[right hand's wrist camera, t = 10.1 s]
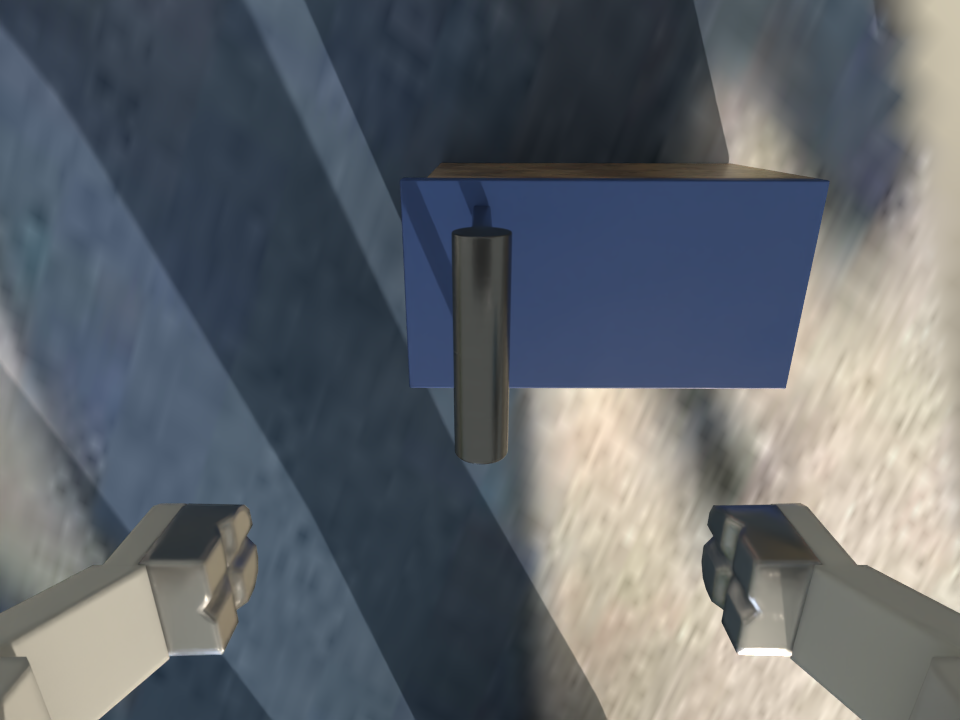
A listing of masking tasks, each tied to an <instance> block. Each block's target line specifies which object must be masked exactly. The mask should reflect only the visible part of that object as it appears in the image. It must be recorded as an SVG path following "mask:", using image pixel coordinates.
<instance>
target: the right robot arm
mask: <svg viewBox="0 0 960 720" xmlns="http://www.w3.org/2000/svg"><path fill="white" fill-rule="evenodd" d="M252 525H253V524H252V519H251V515H250V510H249V508H247V507H246V506H245V505H234V504H185V503H161V504H158V505H155V506H153V507H152V508H151V509H150V510H149V512H148V513H147V514H146V515H145V516H144V517H143V519H142V520H141V521H140V522H139V523H138V524H137V526H136V527H135V528H134V529H133V530H132V531H131V533H130V534H129V535H128V536H127V537H126V538H125V540H124V541H123V542H122V543H121V544H120V545H119V547H118V548H117V549H116V550H115V551H114V552H113V554H112V555H111V556H110V557H109V558H108V559H107V561H106V562H105V563H104V564H103V565H93V566H91V567H89V568H87V569H85V570H83V571H81V572H79V573H77V574H75V575H73V576H71V577H69V578H68V579H66V580H64V581H62V582H60V583H58V584H56V585H54V586H52V587H50V588H48V589H46V590H44V591H42V592H41V593H39V594H37V595H35V596H33V597H31V598H29V599H27V600H25V601H23V602H21V603H19V604H17V605H15V606H14V607H12V608H10V609H8V610H6V611H4V612H2V613H0V720H99V719H100V718H101V717H102V716H103V715H104V714H106V713H107V712H108V711H109V710H110V709H111V708H113V707H114V706H115V705H116V704H117V703H118V702H120V701H121V700H122V699H123V698H124V697H125V696H127V695H128V694H129V693H130V692H131V691H132V690H134V689H135V688H136V687H137V686H138V685H139V684H141V683H142V682H143V681H144V680H145V679H146V678H148V677H149V676H150V675H151V674H152V673H153V672H155V671H156V670H157V669H158V668H159V667H160V666H162V665H163V664H164V663H165V662H166V661H167V660H169V656H181V655H215V654H223V653H224V650H225V648H226V646H227V644H228V642H229V640H230V638H231V636H232V634H233V632H234V630H235V628H236V626H237V624H238V616H237V611H236V610H237V609H238V608H240V607H241V606H243V605H244V604H245V603H247V602H248V601H249V599H250V597H251V595H252V592H253V590H254V588H255V583H256V578H257V574H258V553H257V547H256V545H255V544H254V543H253V542H252V541H251V540H250V539H249V538H248V537H247V534H248V533H249V531H250V529H251V527H252ZM707 525H708V527H709V529H710V531H711V533H712V534H713V537H712V538H711V539H710V540H709V541H708V542H707V543H706V544H705V545H704V547H703V555H702V573H703V580H704V583H705V587H706V590H707V592H708V595H709V597H710V599H711V601H712V602H713V603H715V604H716V605H717V606H719V607H720V608H722V609H723V610H724V611H723V616H722V624H723V626H724V628H725V630H726V632H727V634H728V636H729V638H730V640H731V642H732V644H733V646H734V648H735V650H736V652H737V654H743V655H779V656H791V659H792V660H793V661H794V662H795V663H796V664H798V665H799V666H800V667H801V668H802V669H803V670H805V671H806V672H807V673H808V674H809V675H810V676H812V677H813V678H814V679H815V680H816V681H817V682H819V683H820V684H821V685H822V686H823V687H824V688H825V689H827V690H828V691H829V692H830V693H831V694H832V695H834V696H835V697H836V698H837V699H838V700H839V701H841V702H842V703H843V704H844V705H845V706H846V707H848V708H849V709H850V710H851V711H852V712H853V713H855V714H856V715H857V716H858V717H859V718H860V719H862V720H960V613H958V612H956V611H954V610H952V609H950V608H948V607H946V606H944V605H942V604H941V603H939V602H937V601H935V600H933V599H931V598H929V597H927V596H925V595H923V594H921V593H919V592H917V591H915V590H914V589H912V588H910V587H908V586H906V585H904V584H902V583H900V582H898V581H896V580H894V579H892V578H890V577H889V576H887V575H885V574H883V573H881V572H879V571H877V570H875V569H873V568H871V567H869V566H867V565H857V564H856V563H855V562H854V561H853V559H852V558H851V557H850V556H849V555H848V554H847V552H846V551H845V550H844V549H843V548H842V547H841V545H840V544H839V543H838V542H837V541H836V540H835V538H834V537H833V536H832V535H831V534H830V533H829V532H828V530H827V529H826V528H825V527H824V526H823V525H822V523H821V522H820V521H819V520H818V519H817V518H816V516H815V515H814V514H813V513H812V512H811V511H810V509H809V508H808V507H807V506H805V505H803V504H801V503H786V504H771V505H713V507H712V509H711V511H710V513H709V519H708V524H707Z"/></svg>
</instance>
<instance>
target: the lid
mask: <svg viewBox="0 0 960 720" xmlns="http://www.w3.org/2000/svg"><path fill="white" fill-rule="evenodd" d="M828 187H829V181H828V180H823V179H807V178H402V179H401V180H400V195H401V216H402V238H403V259H404V280H405V302H406V323H407V345H408V366H409V386H410V388H454V430H455V453H456V455H457V456H458V457H459V458H460V459H462V460H463V461H466V462H469V463H473V464H490V463H494V462H497V461H499V460H501V459H503V458H504V457H505V456H506V454H507V451H508V412H509V388H704V389H785V388H786V384H787V379H788V375H789V370H790V365H791V361H792V356H793V351H794V347H795V342H796V337H797V332H798V328H799V323H800V318H801V314H802V309H803V304H804V300H805V295H806V290H807V285H808V281H809V276H810V271H811V267H812V262H813V257H814V253H815V248H816V243H817V238H818V234H819V229H820V224H821V220H822V215H823V210H824V206H825V201H826V196H827V191H828Z"/></svg>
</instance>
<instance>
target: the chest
mask: <svg viewBox="0 0 960 720" xmlns="http://www.w3.org/2000/svg"><path fill="white" fill-rule="evenodd" d="M427 178H807V179H815V178H811V177H805V176H799V175H794V174H788V173H782V172H776V171H771V170H765V169H759V168H753V167H748V166H742V165H736V164H691V163H441V164H440V165H439V166H438V167H437V168H436V169H435V170H434V171H433V172H432V173H431V174H430V175H429V176H428V177H427Z"/></svg>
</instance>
